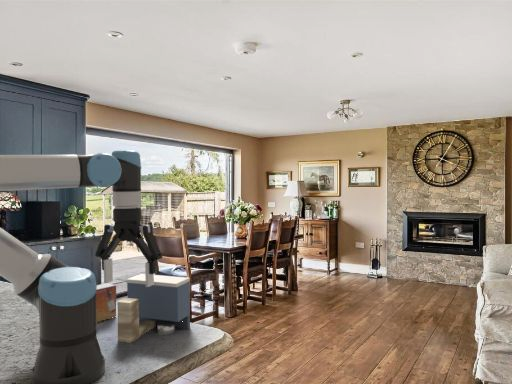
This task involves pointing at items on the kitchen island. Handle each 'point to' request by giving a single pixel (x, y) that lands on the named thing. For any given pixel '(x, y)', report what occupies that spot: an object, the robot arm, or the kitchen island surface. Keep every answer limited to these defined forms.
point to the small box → (105, 301)
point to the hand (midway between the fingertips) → (128, 284)
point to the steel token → (166, 327)
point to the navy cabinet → (162, 299)
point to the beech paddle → (131, 321)
